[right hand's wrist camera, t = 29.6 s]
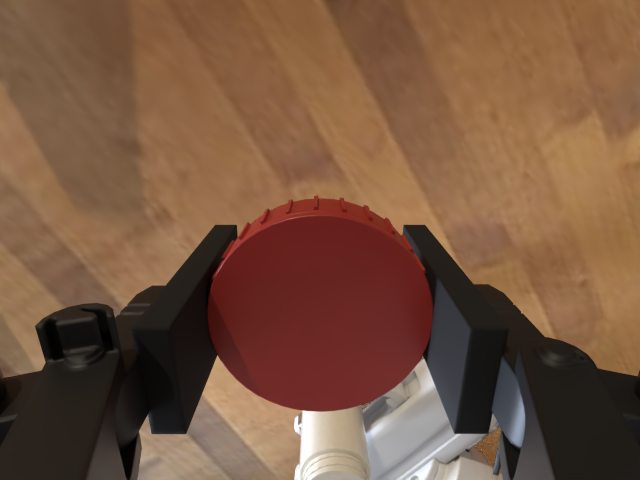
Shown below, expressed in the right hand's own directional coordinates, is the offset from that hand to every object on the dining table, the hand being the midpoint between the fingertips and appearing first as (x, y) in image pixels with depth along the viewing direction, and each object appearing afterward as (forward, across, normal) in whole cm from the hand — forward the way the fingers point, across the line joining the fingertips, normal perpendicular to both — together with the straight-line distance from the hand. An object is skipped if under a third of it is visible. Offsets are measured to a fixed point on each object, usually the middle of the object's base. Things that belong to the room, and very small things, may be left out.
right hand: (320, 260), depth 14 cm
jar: (+20, +1, -19) cm, 28 cm away
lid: (-4, 0, 0) cm, 4 cm away
